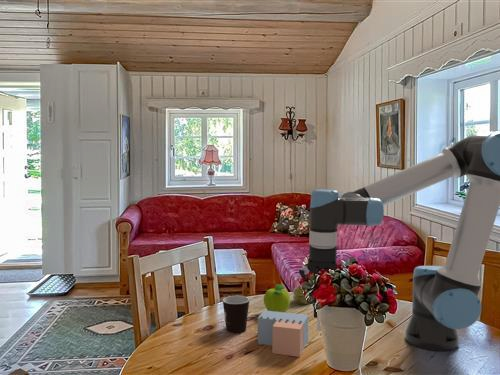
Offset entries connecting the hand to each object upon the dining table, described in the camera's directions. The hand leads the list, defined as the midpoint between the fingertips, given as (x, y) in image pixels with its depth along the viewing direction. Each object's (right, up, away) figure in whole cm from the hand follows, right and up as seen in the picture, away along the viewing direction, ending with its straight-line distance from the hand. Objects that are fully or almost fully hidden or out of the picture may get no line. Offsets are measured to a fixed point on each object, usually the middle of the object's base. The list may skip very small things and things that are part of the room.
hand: (320, 329), depth 136 cm
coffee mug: (-24, -7, +24) cm, 34 cm away
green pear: (0, -4, +50) cm, 51 cm away
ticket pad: (-10, -7, +12) cm, 17 cm away
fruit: (-10, -6, +37) cm, 39 cm away
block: (-9, -8, +5) cm, 13 cm away
